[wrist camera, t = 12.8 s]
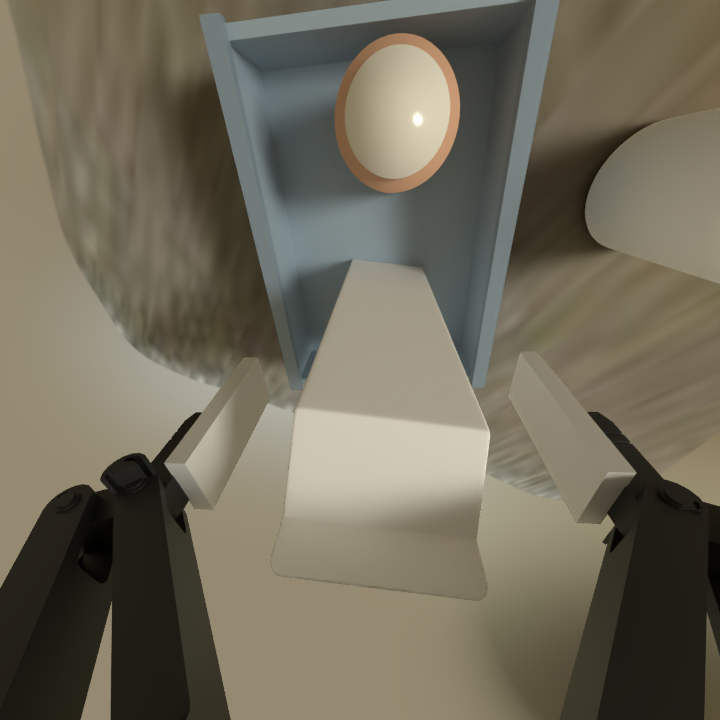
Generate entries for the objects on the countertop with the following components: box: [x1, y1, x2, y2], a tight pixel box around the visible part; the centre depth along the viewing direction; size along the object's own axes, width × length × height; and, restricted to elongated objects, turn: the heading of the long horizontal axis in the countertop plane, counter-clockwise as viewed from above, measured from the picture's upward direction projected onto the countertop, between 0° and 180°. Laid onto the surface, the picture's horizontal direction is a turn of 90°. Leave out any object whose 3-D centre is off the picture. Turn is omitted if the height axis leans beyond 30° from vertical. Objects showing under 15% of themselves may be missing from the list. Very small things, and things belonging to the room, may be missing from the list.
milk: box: [271, 259, 490, 601], centre depth 17 cm, size 6×6×22 cm
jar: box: [335, 33, 460, 194], centre depth 17 cm, size 6×6×8 cm
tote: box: [199, 0, 560, 390], centre depth 21 cm, size 22×16×6 cm
